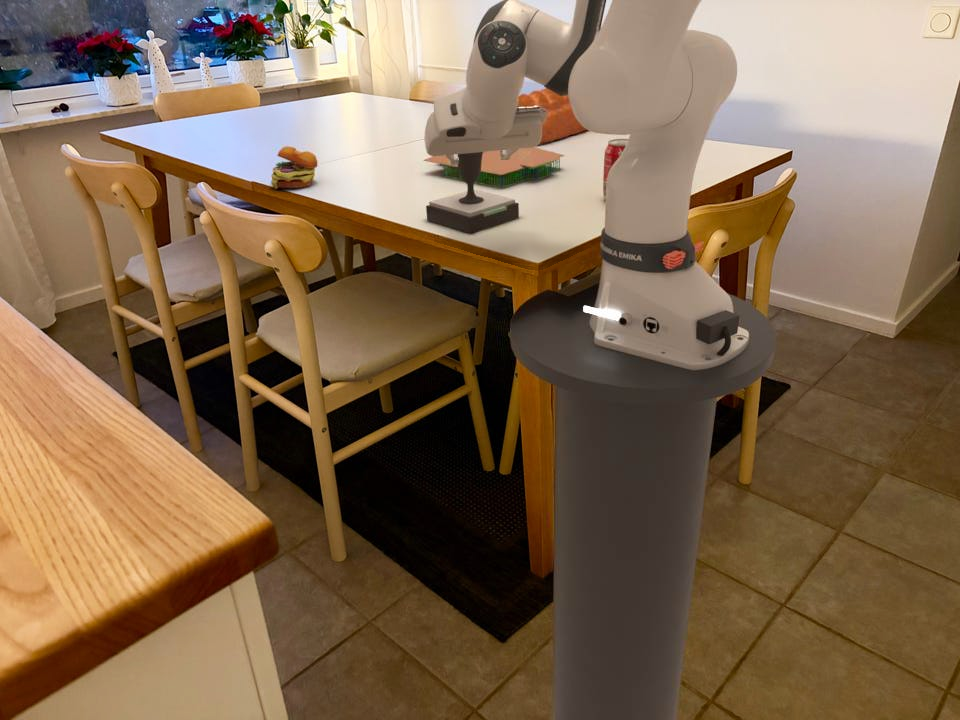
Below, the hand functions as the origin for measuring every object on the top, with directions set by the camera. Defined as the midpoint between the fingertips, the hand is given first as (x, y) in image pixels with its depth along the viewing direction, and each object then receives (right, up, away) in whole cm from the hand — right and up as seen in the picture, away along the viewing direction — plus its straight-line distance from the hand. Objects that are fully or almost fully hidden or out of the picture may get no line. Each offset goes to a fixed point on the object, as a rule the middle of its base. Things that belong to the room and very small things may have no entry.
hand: (479, 159), depth 133 cm
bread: (+21, +30, +85) cm, 93 cm away
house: (+3, +10, +49) cm, 50 cm away
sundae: (-1, -5, +12) cm, 13 cm away
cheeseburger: (-44, +6, +44) cm, 63 cm away
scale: (-1, -8, +14) cm, 16 cm away
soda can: (+30, -3, +22) cm, 37 cm away
